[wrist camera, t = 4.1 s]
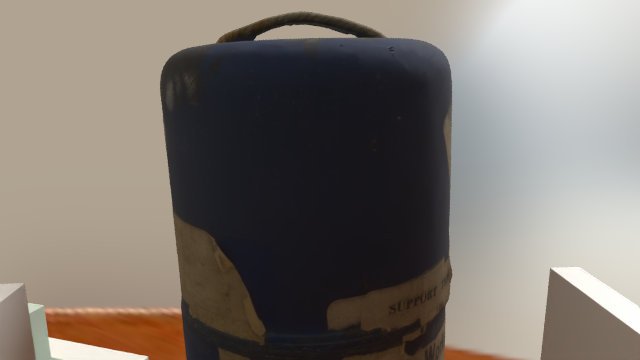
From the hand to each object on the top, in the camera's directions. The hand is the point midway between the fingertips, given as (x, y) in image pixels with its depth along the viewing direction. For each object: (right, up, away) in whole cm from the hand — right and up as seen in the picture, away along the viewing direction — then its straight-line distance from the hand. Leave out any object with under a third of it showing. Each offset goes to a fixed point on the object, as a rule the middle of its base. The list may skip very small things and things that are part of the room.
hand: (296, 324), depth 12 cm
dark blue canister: (+1, -9, +7) cm, 11 cm away
